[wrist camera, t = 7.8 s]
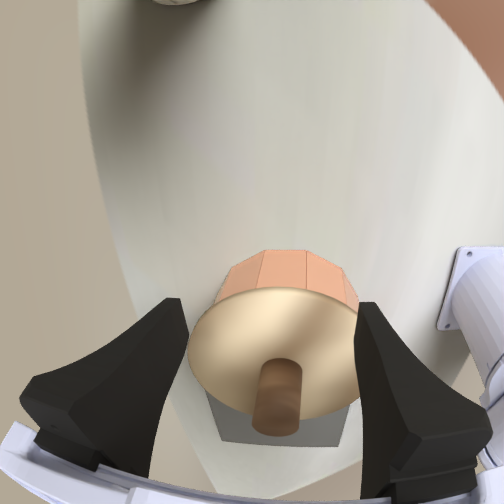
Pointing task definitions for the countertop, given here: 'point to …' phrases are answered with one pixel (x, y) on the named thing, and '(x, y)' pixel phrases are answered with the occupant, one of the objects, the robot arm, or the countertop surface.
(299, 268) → the bowl
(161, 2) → the spray can
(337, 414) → the mat
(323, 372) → the lid
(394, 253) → the countertop surface
